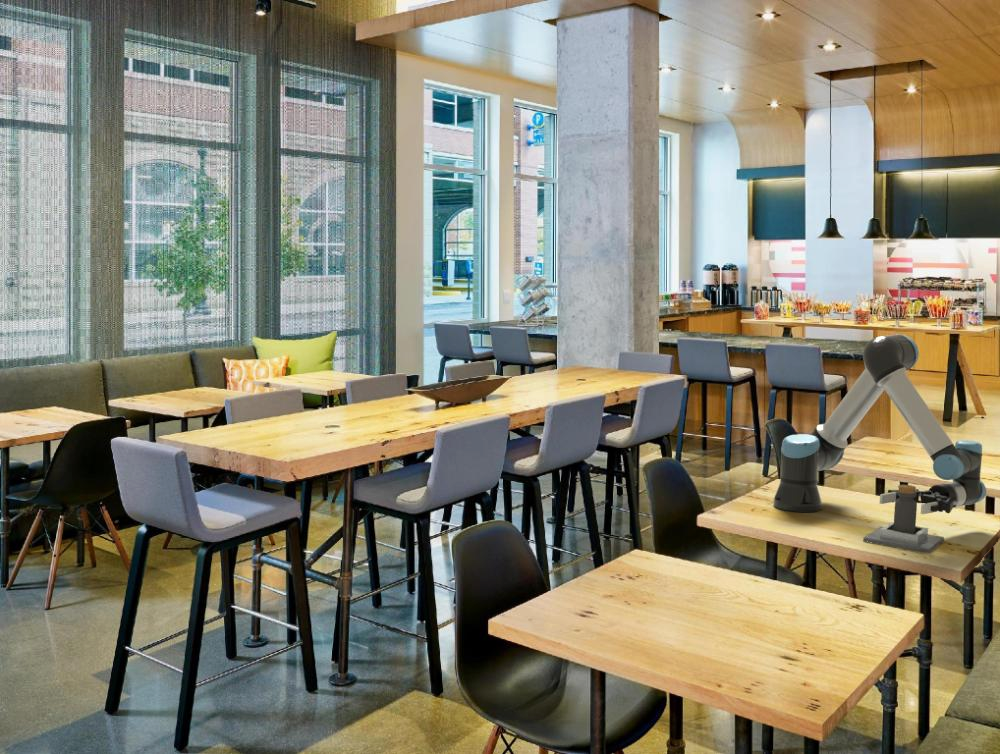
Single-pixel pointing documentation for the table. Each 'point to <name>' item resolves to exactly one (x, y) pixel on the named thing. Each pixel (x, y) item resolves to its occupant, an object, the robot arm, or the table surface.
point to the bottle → (905, 510)
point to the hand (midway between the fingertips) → (900, 504)
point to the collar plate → (905, 538)
